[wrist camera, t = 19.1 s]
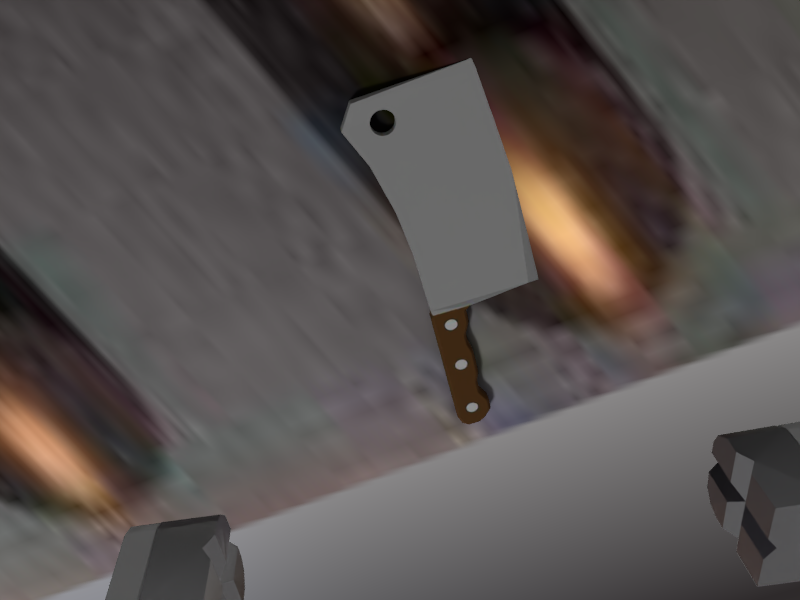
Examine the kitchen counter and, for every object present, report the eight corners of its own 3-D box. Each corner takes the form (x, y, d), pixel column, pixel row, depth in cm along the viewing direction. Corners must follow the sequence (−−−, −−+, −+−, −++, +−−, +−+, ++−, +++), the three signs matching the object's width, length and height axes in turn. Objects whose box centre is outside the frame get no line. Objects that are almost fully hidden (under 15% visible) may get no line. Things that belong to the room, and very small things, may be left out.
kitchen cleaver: (572, 396, 49) (433, 436, 49) (567, 387, 50) (430, 426, 50) (517, 41, 36) (330, 95, 36) (512, 37, 37) (329, 90, 37)
